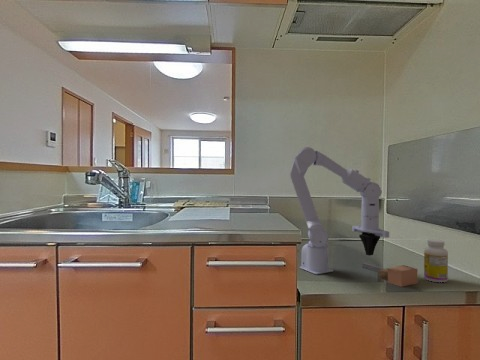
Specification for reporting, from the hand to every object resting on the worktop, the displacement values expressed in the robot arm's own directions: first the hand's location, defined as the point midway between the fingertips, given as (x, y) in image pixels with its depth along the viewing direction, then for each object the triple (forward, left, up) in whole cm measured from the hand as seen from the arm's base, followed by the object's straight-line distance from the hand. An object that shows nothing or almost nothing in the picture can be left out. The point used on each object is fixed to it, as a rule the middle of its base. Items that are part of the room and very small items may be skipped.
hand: (369, 254), depth 116 cm
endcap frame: (+5, 0, -6) cm, 8 cm away
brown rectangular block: (+10, 0, -6) cm, 12 cm away
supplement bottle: (+16, +12, -6) cm, 21 cm away
